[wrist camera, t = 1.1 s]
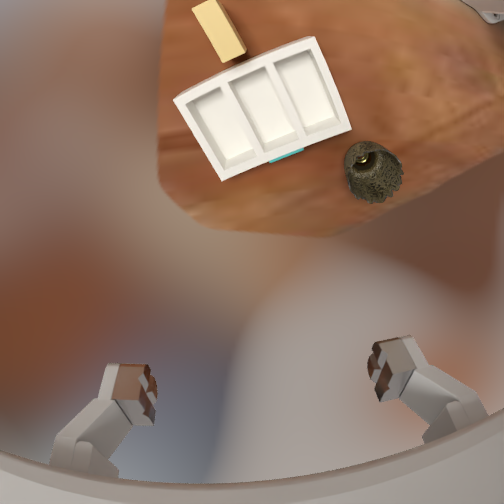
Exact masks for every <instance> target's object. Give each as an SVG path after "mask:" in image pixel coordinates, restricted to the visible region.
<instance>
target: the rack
mask: <svg viewBox="0 0 504 504" xmlns="http://www.w3.org/2000/svg"><path fill="white" fill-rule="evenodd" d="M173 101H174V103H175V104H176V106H177V108H178V109H179V111H180V112H181V114H182V116H183V117H184V119H185V121H186V122H187V124H188V126H189V127H190V129H191V131H192V132H193V134H194V136H195V137H196V139H197V141H198V142H199V144H200V146H201V147H202V149H203V151H204V152H205V154H206V156H207V157H208V159H209V161H210V162H211V164H212V166H213V167H214V169H215V171H216V172H217V174H218V176H219V178H220V179H221V181H223V180H225V179H228V178H230V177H232V176H235V175H237V174H239V173H242V172H244V171H246V170H249V169H251V168H253V167H256V166H258V165H260V164H263V163H265V162H268V161H269V162H270V163H272V162H275V161H277V160H280V159H282V158H285V157H287V156H290V155H292V154H295V153H297V152H300V151H302V150H304V149H303V147H305V146H308V145H311V144H313V143H316V142H319V141H321V140H324V139H327V138H329V137H332V136H335V135H338V134H340V133H343V132H346V131H349V130H352V129H351V126H350V123H349V120H348V117H347V114H346V112H345V109H344V106H343V104H342V101H341V98H340V96H339V93H338V91H337V88H336V86H335V83H334V81H333V78H332V76H331V73H330V71H329V68H328V66H327V64H326V61H325V59H324V57H323V55H322V52H321V50H320V48H319V46H318V43H317V41H316V39H315V37H313V36H307V37H304V38H301V39H298V40H296V41H293V42H290V43H287V44H285V45H282V46H280V47H277V48H274V49H272V50H269V51H267V52H264V53H262V54H260V55H257V56H255V57H253V58H250V59H248V60H246V61H243V62H241V63H239V64H237V65H235V66H232V67H230V68H228V69H226V70H224V71H222V72H220V73H218V74H216V75H214V76H212V77H210V78H208V79H206V80H204V81H202V82H200V83H198V84H196V85H194V86H192V87H190V88H188V89H187V90H185V91H183V92H181V93H180V94H179V95H178V96H177V97H175V98H174V99H173Z"/></svg>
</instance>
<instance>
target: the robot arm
mask: <svg viewBox="0 0 504 504" xmlns="http://www.w3.org/2000/svg"><path fill="white" fill-rule="evenodd" d="M462 1H463V2H465V3H466V4H468V5H469V6H471V7H473V8H474V9H475V10H476V11H477V12H478V13H479V14H480V16H481V17H482V18H483V19H484V20H485V21H486V22H487V23H496V22H499V21H502V20H504V0H462ZM494 14H495V16H494ZM372 351H373V353H372V354H371V355H370V356H369V359H368V362H367V364H368V365H367V368H368V374H369V377H370V379H371V380H372V381H373V382H375V383H376V386H375V392H376V394H377V397H378V399H379V402H384V401H388V400H392V399H396V398H399V399H400V400H401V401H402V402H403V403H405V404H406V405H407V406H408V407H409V408H410V409H411V410H413V411H414V412H415V413H416V414H417V415H418V416H420V417H421V418H422V419H423V420H424V421H426V422H427V423H428V424H429V425H430V427H429V428H428V429H427V430H426V431H425V433H424V434H423V436H422V438H423V441H424V443H425V444H424V445H421V446H418V447H415V448H412V449H409V450H406V451H403V452H400V453H397V454H394V455H390V456H387V457H384V458H380V459H377V460H373V461H369V462H366V463H362V464H358V465H354V466H350V467H345V468H341V469H336V470H332V471H326V472H321V473H315V474H310V475H304V476H298V477H290V478H283V479H274V480H265V481H254V482H240V483H216V484H215V483H214V484H188V483H163V482H149V481H148V482H147V481H138V480H129V479H121V478H118V475H119V470H118V469H117V467H116V466H114V465H113V464H112V463H111V462H110V461H109V460H108V459H109V458H110V456H111V455H112V454H113V452H114V451H115V450H116V448H117V447H118V446H119V444H120V443H121V442H122V440H123V439H124V438H125V436H126V435H127V434H128V432H129V431H130V430H131V428H132V427H133V426H132V425H136V426H154V421H155V412H156V410H155V409H154V407H153V404H154V403H155V402H156V401H157V395H158V393H157V384H156V381H155V378H154V377H153V376H152V375H150V373H151V369H150V367H149V365H148V364H125V363H109V364H108V365H107V366H106V369H105V373H104V377H103V381H102V384H101V388H100V391H99V396H98V399H93V400H92V401H91V402H90V403H89V404H88V405H87V406H86V407H85V408H84V409H83V410H82V411H81V412H80V413H79V414H78V415H77V416H76V417H75V418H74V419H73V420H72V421H71V422H70V423H68V424H67V426H66V427H64V428H63V429H62V430H61V431H60V432H59V433H58V434H57V435H56V438H55V442H54V446H53V449H52V453H51V458H50V462H49V465H48V464H44V463H41V462H37V461H33V460H30V459H27V458H23V457H20V456H17V455H14V454H11V453H8V452H5V451H2V450H0V504H504V408H503V409H501V410H499V411H497V412H495V413H493V414H491V415H490V416H488V414H487V412H486V410H485V408H484V406H483V404H482V402H481V400H480V399H479V397H478V395H477V393H476V392H475V391H474V390H472V389H471V388H469V387H467V386H466V385H464V384H463V383H461V382H459V381H458V380H456V379H454V378H453V377H451V376H450V375H448V374H446V373H445V372H443V371H442V370H440V369H438V368H437V367H435V366H433V365H429V364H428V362H427V361H426V359H425V357H424V355H423V354H422V352H421V350H420V348H419V347H418V345H417V343H416V341H415V340H414V338H413V337H412V336H411V335H407V336H403V337H397V338H392V339H387V340H383V341H378V342H375V343H374V344H373V346H372Z"/></svg>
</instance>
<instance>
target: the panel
mask: <svg viewBox="0 0 504 504" xmlns="http://www.w3.org/2000/svg"><path fill="white" fill-rule="evenodd" d="M192 11H193V12H194V14H195V16H196V17H197V19H198V21H199V22H200V24H201V26H202V27H203V29H204V31H205V33H206V34H207V36H208V38H209V40H210V41H211V43H212V45H213V46H214V48H215V50H216V52H217V54H218V55H219V57H220V59H221V61H222V63H224V62H226V61H228V60H231V59H233V58H235V57H237V56H239V55H242V54H244V53H245V52H246V50H247V48H246V46H245V44H244V43H243V41H242V39H241V37H240V35H239V33H238V32H237V30H236V28H235V26H234V24H233V23H232V21H231V19H230V17H229V16H228V14H227V12H226V10H225V9H224V7H223V5H222V4H221V3H220V2H219V1H217V0H208V1H206V2H204V3H202V4H200V5H198V6H196V7H194V8H192Z"/></svg>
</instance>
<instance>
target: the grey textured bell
mask: <svg viewBox="0 0 504 504" xmlns="http://www.w3.org/2000/svg"><path fill="white" fill-rule="evenodd" d="M364 153H365V155H364ZM363 155H364V157H363V158H361V159H357V158H358V157H360V156H363ZM401 167H402V163H401V162H400V160H399V159H398V158H397V156H396V155H394V154H393V153H391V152H390V151H388V150H387V149H386V148H384V147H383V146H381V145H379V144H377V143H374V142H370V141H363V142H359V143H357V144H355V145H353V146H352V147H351V148H350V149H349V150H348V152H347V154H346V156H345V160H344V169H345V174H346V178H347V181H348V185H349V188H350V191H351V192H352V193H353V194H354V196H355V197H356V199H358V200H359V199H360V198H362V199H366V200H367V202H368V203H370V204H372V203H373V201H374V202H376V203H383V202H384V201H385V199H386V197H387V196H389V197H393V192H392V190H394V191H398V190H399V187H400V186H399V185H400V184H402V180H401V176H400V175H403V174H404V173H403V171H402V169H401Z"/></svg>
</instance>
